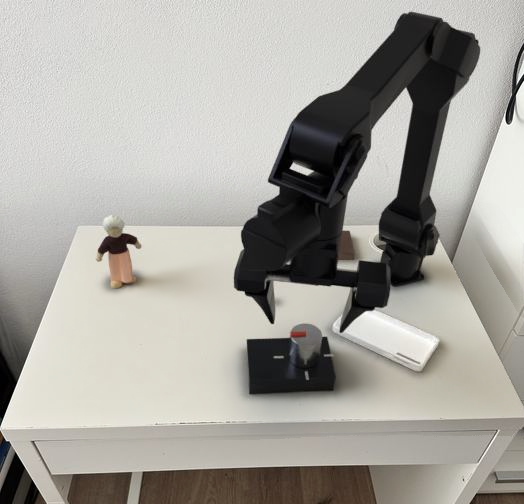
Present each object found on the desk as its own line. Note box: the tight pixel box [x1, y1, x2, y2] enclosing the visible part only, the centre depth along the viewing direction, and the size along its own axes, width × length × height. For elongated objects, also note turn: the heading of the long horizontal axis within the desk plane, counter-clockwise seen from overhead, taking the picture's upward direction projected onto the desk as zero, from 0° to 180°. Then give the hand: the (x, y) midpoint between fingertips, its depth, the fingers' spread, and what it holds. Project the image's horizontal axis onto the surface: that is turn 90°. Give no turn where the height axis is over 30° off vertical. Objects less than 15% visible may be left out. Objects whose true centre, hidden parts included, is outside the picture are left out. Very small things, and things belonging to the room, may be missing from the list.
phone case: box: [332, 309, 440, 372], centre depth 83 cm, size 7×1×15 cm
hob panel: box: [246, 336, 337, 395], centre depth 77 cm, size 12×9×3 cm
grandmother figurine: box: [95, 214, 143, 289], centre depth 88 cm, size 8×4×13 cm, turn 131°
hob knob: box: [288, 322, 323, 368], centre depth 75 cm, size 4×4×5 cm
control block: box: [338, 230, 355, 261], centre depth 98 cm, size 12×7×4 cm, turn 91°
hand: (306, 326), depth 72 cm, fingers open, 9 cm apart
